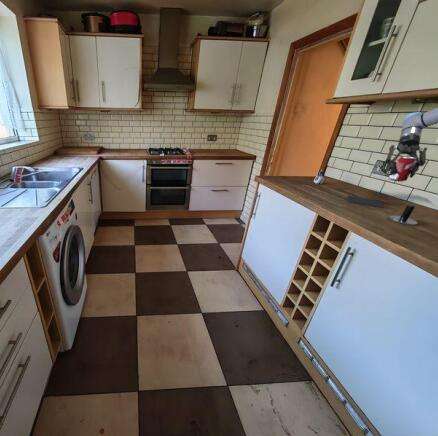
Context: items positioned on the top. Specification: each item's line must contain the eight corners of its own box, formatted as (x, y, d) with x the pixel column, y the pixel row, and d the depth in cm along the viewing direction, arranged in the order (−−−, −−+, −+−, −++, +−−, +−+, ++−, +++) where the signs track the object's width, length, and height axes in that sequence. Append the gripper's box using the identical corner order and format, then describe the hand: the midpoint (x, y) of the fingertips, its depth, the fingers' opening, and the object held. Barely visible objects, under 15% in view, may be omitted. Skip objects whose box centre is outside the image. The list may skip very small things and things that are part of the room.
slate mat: (378, 201, 127) (379, 200, 127) (383, 208, 118) (384, 207, 118) (347, 196, 134) (347, 195, 134) (349, 202, 125) (349, 201, 125)
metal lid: (413, 220, 105) (422, 204, 102) (419, 227, 99) (429, 211, 95) (387, 215, 110) (395, 200, 107) (391, 222, 103) (400, 206, 100)
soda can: (393, 181, 118) (405, 158, 113) (384, 178, 124) (395, 155, 119) (409, 182, 116) (422, 159, 111) (399, 179, 122) (411, 156, 117)
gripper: (431, 145, 119) (424, 182, 114) (381, 141, 129) (373, 175, 124) (441, 135, 113) (434, 174, 108) (388, 132, 123) (379, 167, 118)
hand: (401, 174), depth 116 cm, fingers closed on soda can, 7 cm apart
